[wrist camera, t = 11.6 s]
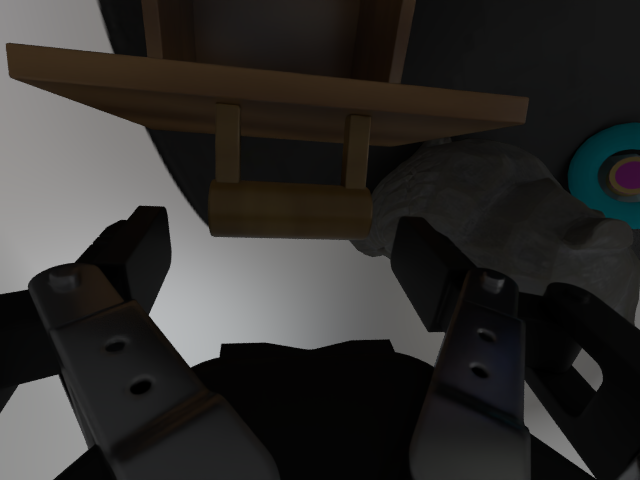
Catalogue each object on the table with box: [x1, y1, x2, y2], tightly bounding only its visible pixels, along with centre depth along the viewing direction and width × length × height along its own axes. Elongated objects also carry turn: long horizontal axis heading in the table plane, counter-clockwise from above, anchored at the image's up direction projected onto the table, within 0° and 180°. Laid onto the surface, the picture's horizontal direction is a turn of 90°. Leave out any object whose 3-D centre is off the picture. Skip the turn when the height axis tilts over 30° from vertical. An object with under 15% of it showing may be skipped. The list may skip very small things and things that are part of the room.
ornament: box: [567, 123, 640, 229], centre depth 36 cm, size 11×4×10 cm
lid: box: [6, 43, 529, 240], centre depth 15 cm, size 11×14×5 cm
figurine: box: [349, 137, 640, 326], centre depth 28 cm, size 14×16×20 cm
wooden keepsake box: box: [141, 0, 416, 84], centre depth 23 cm, size 11×14×11 cm
